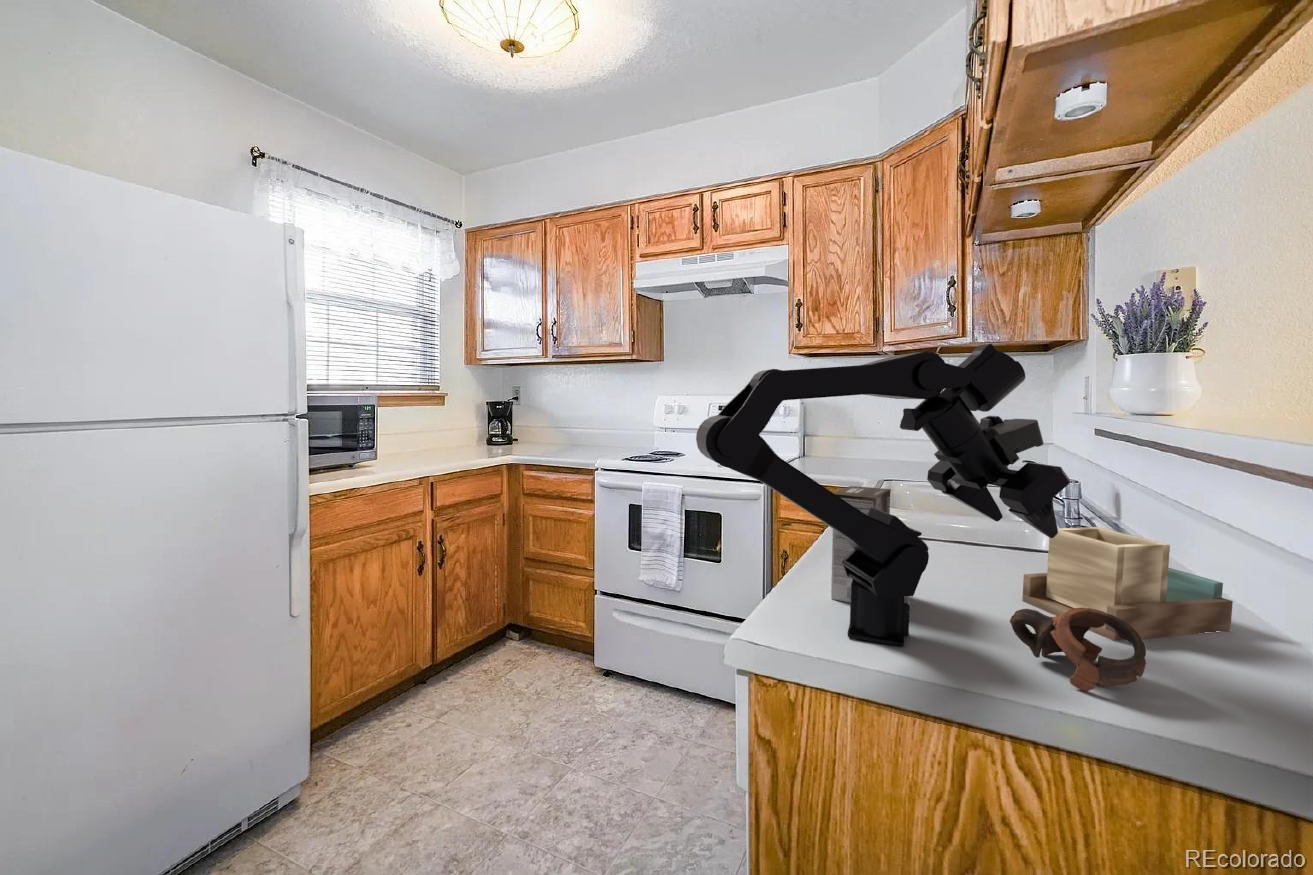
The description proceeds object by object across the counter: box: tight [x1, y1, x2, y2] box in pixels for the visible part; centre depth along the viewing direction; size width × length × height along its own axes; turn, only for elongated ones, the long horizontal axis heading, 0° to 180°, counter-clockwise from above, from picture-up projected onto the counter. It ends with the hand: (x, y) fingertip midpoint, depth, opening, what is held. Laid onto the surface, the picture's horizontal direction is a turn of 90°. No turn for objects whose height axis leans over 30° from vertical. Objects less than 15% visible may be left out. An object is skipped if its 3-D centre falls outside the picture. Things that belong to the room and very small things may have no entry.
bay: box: [1022, 567, 1234, 642], centre depth 78 cm, size 18×14×6 cm
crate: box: [1046, 526, 1171, 613], centre depth 77 cm, size 8×10×10 cm
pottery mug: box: [1009, 608, 1147, 693], centre depth 61 cm, size 12×10×8 cm
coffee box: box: [830, 485, 891, 603], centre depth 85 cm, size 9×6×16 cm
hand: (1025, 526), depth 73 cm, fingers open, 9 cm apart
